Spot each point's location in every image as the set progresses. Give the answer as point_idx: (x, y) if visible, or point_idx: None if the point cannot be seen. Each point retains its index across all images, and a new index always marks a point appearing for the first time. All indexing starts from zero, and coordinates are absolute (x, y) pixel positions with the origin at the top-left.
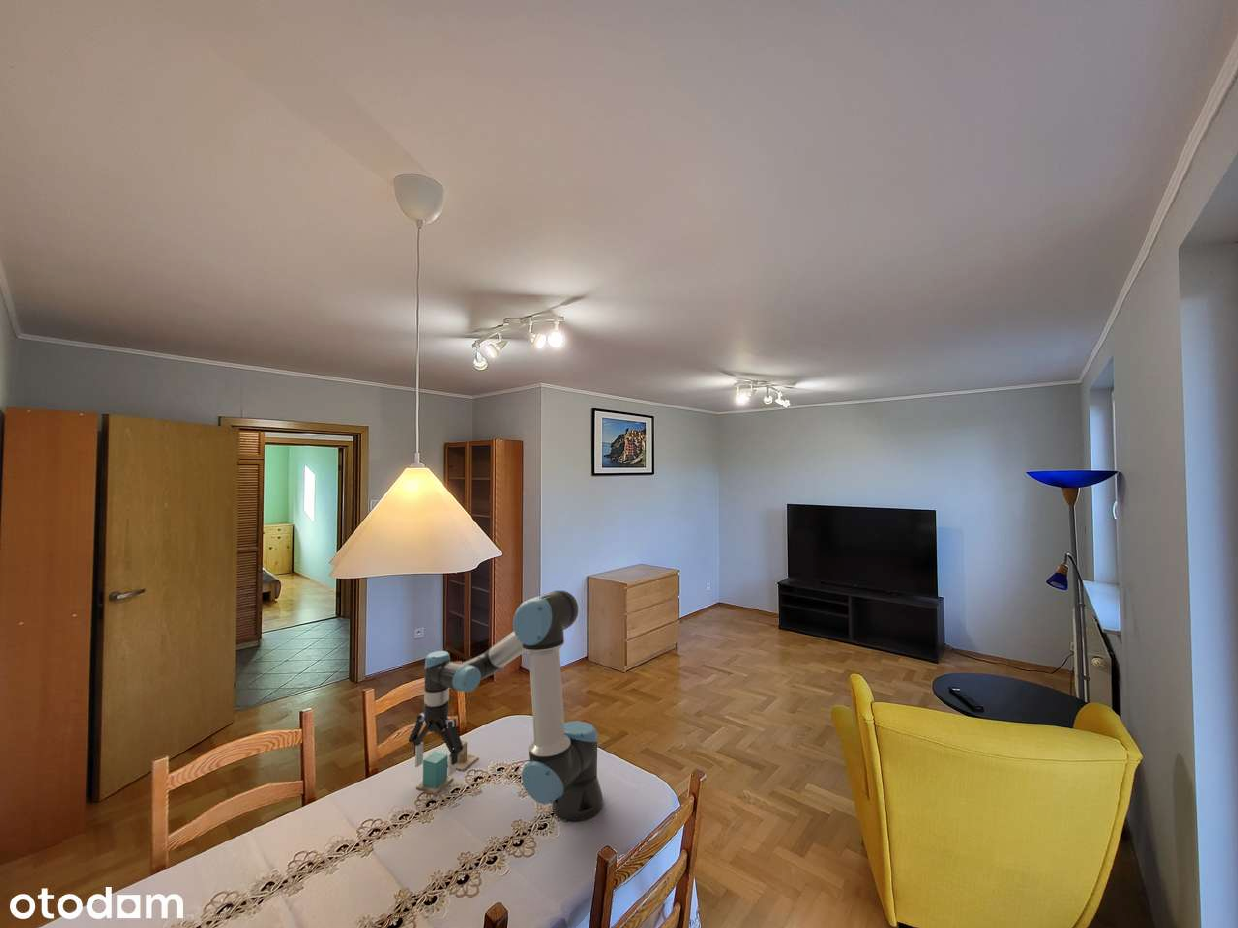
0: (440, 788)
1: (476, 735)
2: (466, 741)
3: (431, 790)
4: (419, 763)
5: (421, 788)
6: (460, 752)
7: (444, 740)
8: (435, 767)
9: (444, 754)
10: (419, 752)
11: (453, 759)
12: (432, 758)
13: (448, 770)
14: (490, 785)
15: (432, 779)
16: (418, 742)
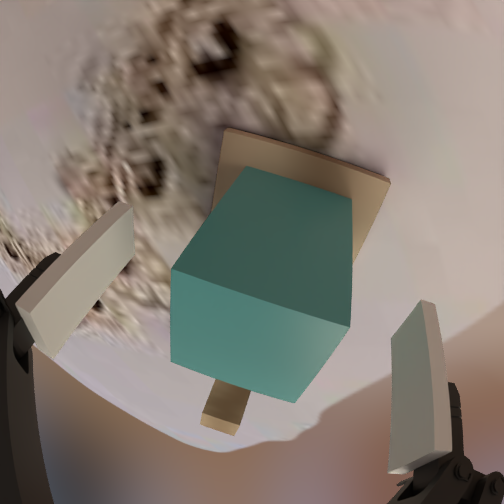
0: (218, 169)
1: (271, 434)
2: (205, 425)
3: (264, 145)
4: (408, 327)
5: (344, 165)
6: (224, 385)
7: (5, 450)
8: (199, 243)
9: (194, 366)
10: (414, 399)
11: (36, 279)
12: (261, 337)
13: (107, 224)
14: (59, 220)
15: (261, 196)
16: (425, 478)
